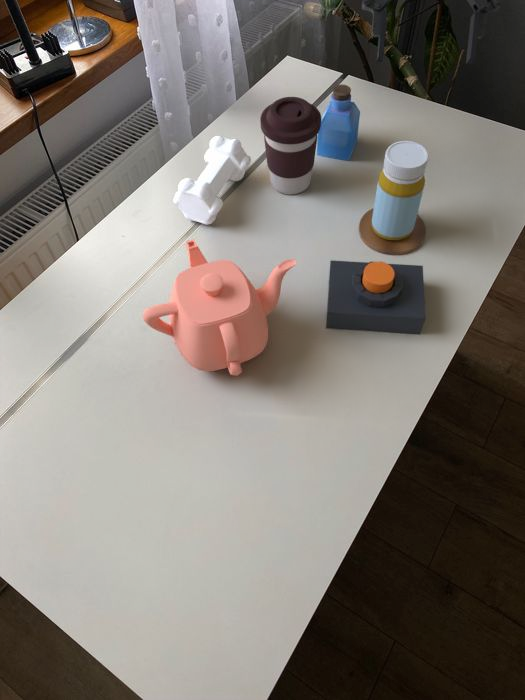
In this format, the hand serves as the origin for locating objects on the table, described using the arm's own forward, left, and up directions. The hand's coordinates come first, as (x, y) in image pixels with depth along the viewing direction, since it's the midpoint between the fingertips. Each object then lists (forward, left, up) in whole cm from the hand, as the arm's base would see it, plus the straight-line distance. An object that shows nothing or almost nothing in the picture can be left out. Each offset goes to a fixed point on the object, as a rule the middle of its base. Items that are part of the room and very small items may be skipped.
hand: (425, 60), depth 92 cm
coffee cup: (+20, +4, -21) cm, 30 cm away
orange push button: (+5, +31, -15) cm, 35 cm away
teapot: (+27, +38, -21) cm, 52 cm away
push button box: (+5, +31, -21) cm, 38 cm away
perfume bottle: (+12, -6, -21) cm, 25 cm away
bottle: (+2, +15, -20) cm, 26 cm away
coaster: (+2, +15, -21) cm, 26 cm away
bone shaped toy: (+33, +9, -21) cm, 40 cm away
